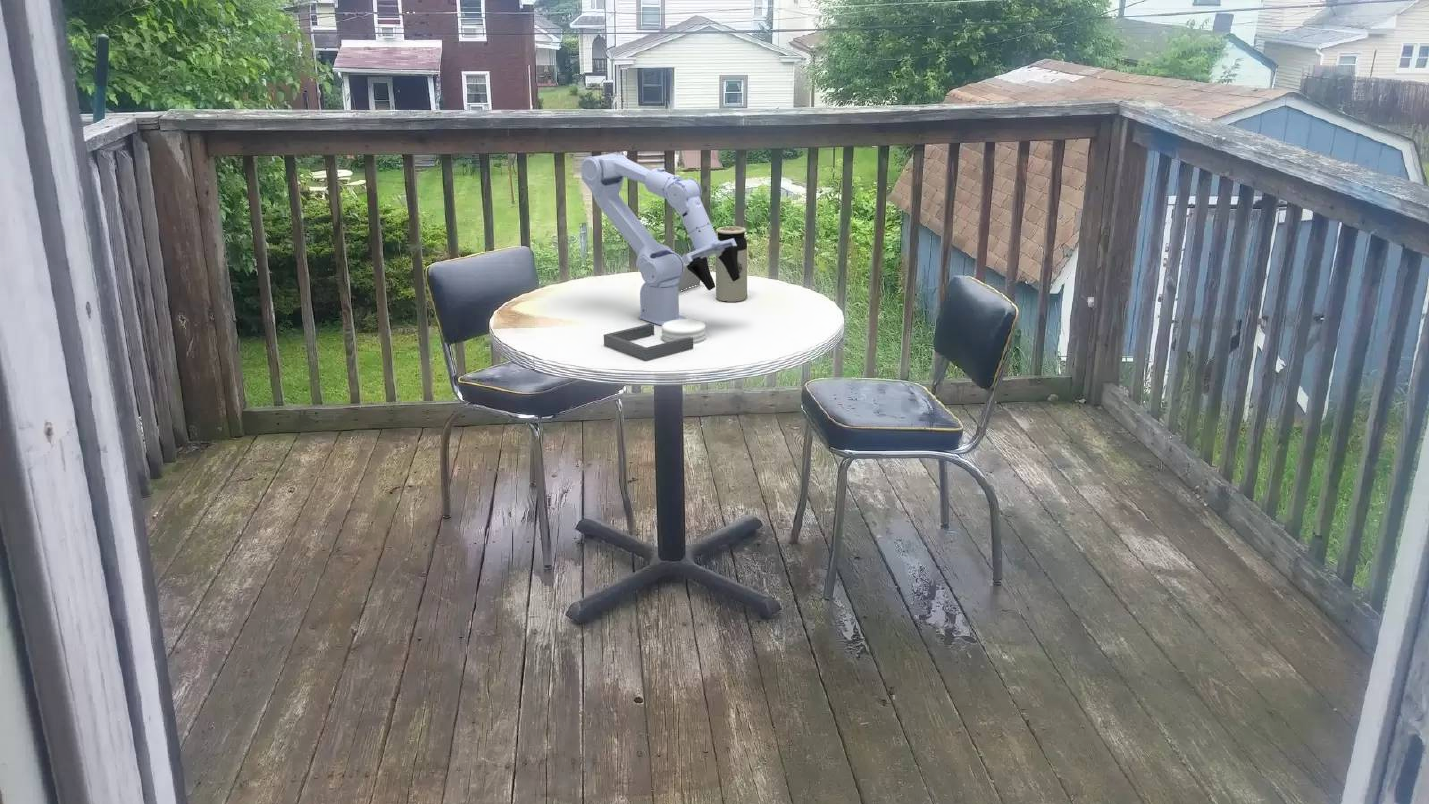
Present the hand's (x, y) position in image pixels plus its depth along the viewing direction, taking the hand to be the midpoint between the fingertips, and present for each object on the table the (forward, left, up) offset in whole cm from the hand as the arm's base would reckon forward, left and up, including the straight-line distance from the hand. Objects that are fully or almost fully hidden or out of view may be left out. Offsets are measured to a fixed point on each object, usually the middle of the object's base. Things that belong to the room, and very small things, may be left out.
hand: (724, 284), depth 254 cm
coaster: (-3, -10, -12) cm, 16 cm away
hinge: (-38, +16, -12) cm, 43 cm away
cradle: (-3, -20, -11) cm, 23 cm away
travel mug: (-22, +21, -12) cm, 33 cm away
